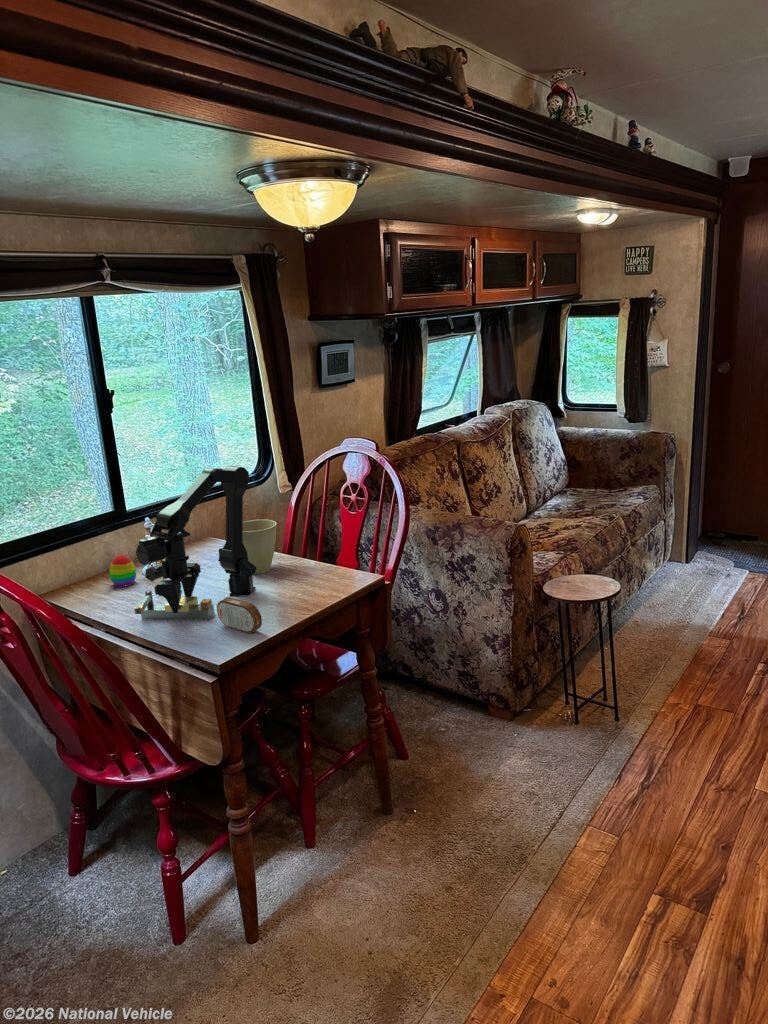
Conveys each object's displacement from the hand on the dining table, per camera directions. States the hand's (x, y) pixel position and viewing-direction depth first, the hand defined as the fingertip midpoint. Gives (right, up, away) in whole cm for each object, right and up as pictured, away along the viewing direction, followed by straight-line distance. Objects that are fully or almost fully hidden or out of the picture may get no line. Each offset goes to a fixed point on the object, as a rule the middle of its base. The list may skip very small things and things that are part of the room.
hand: (182, 606), depth 201 cm
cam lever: (-9, -1, -4) cm, 10 cm away
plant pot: (+15, +7, +37) cm, 40 cm away
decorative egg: (-28, +3, +31) cm, 42 cm away
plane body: (-1, -3, +1) cm, 4 cm away
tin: (+18, -5, -9) cm, 21 cm away
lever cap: (0, 0, 0) cm, 0 cm away
